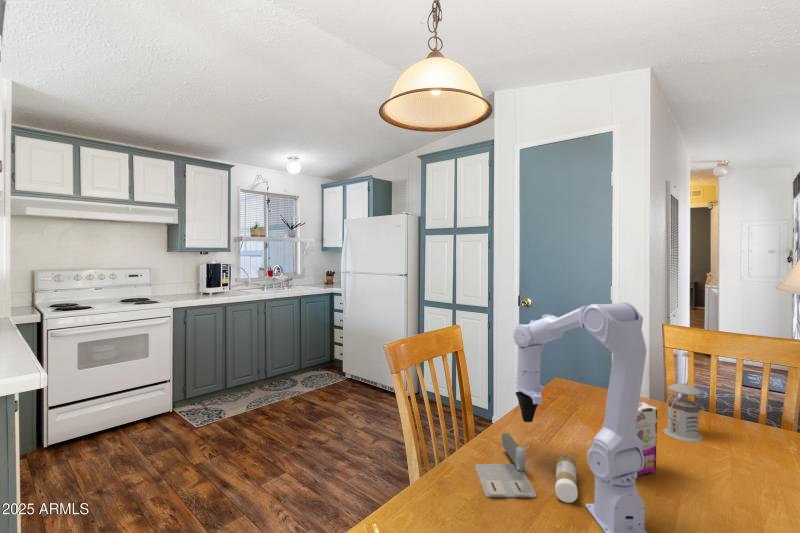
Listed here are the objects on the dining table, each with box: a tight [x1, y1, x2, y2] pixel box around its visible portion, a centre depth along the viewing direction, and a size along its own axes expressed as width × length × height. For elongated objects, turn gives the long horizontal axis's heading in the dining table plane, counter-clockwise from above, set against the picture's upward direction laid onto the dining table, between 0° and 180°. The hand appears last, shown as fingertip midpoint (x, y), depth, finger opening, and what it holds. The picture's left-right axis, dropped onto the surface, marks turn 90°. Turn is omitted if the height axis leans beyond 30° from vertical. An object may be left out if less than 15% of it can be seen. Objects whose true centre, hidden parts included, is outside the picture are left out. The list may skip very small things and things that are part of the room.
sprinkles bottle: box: [554, 454, 579, 504], centre depth 94 cm, size 5×5×14 cm
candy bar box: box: [634, 401, 658, 477], centre depth 100 cm, size 11×5×16 cm, turn 105°
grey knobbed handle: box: [501, 432, 527, 471], centre depth 104 cm, size 2×12×5 cm, turn 4°
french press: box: [662, 351, 704, 443], centre depth 120 cm, size 10×12×25 cm
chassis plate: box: [475, 463, 537, 498], centre depth 95 cm, size 12×11×1 cm
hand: (527, 420), depth 106 cm, fingers closed
